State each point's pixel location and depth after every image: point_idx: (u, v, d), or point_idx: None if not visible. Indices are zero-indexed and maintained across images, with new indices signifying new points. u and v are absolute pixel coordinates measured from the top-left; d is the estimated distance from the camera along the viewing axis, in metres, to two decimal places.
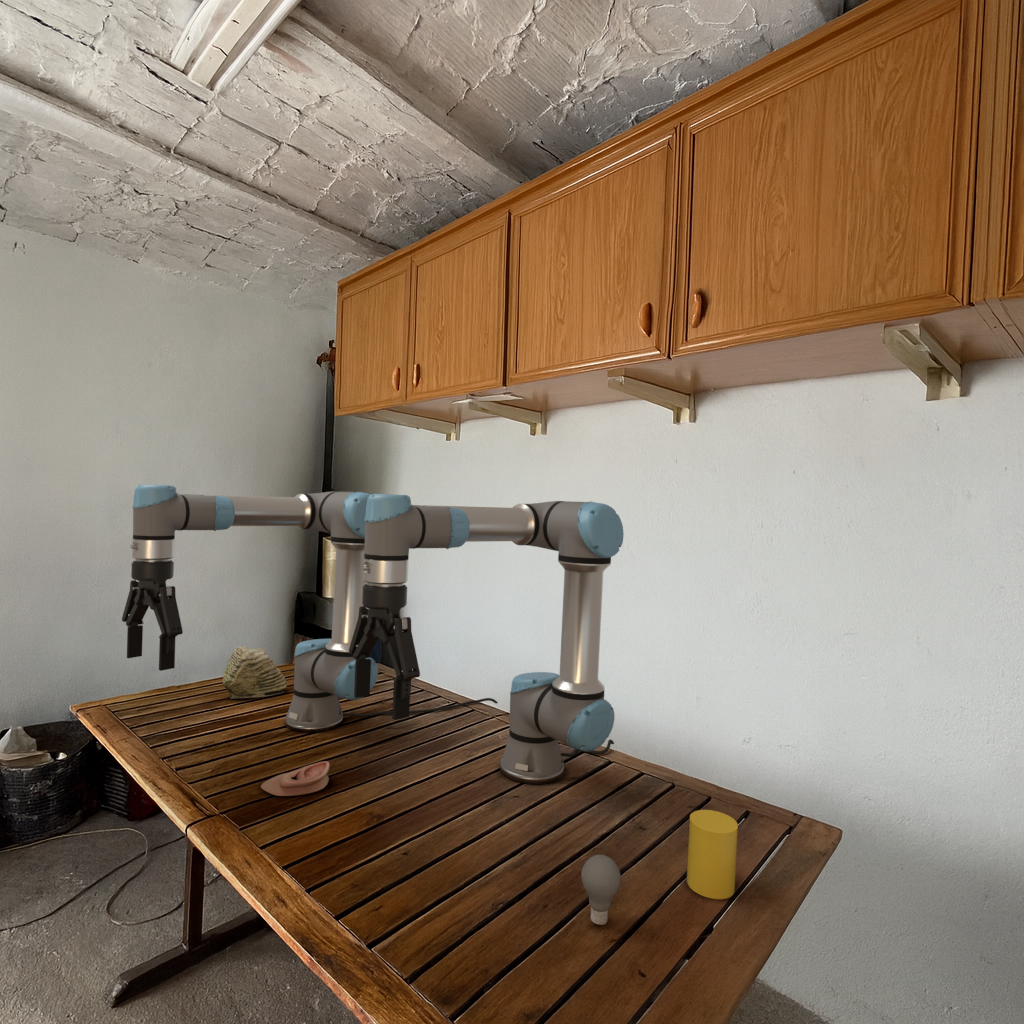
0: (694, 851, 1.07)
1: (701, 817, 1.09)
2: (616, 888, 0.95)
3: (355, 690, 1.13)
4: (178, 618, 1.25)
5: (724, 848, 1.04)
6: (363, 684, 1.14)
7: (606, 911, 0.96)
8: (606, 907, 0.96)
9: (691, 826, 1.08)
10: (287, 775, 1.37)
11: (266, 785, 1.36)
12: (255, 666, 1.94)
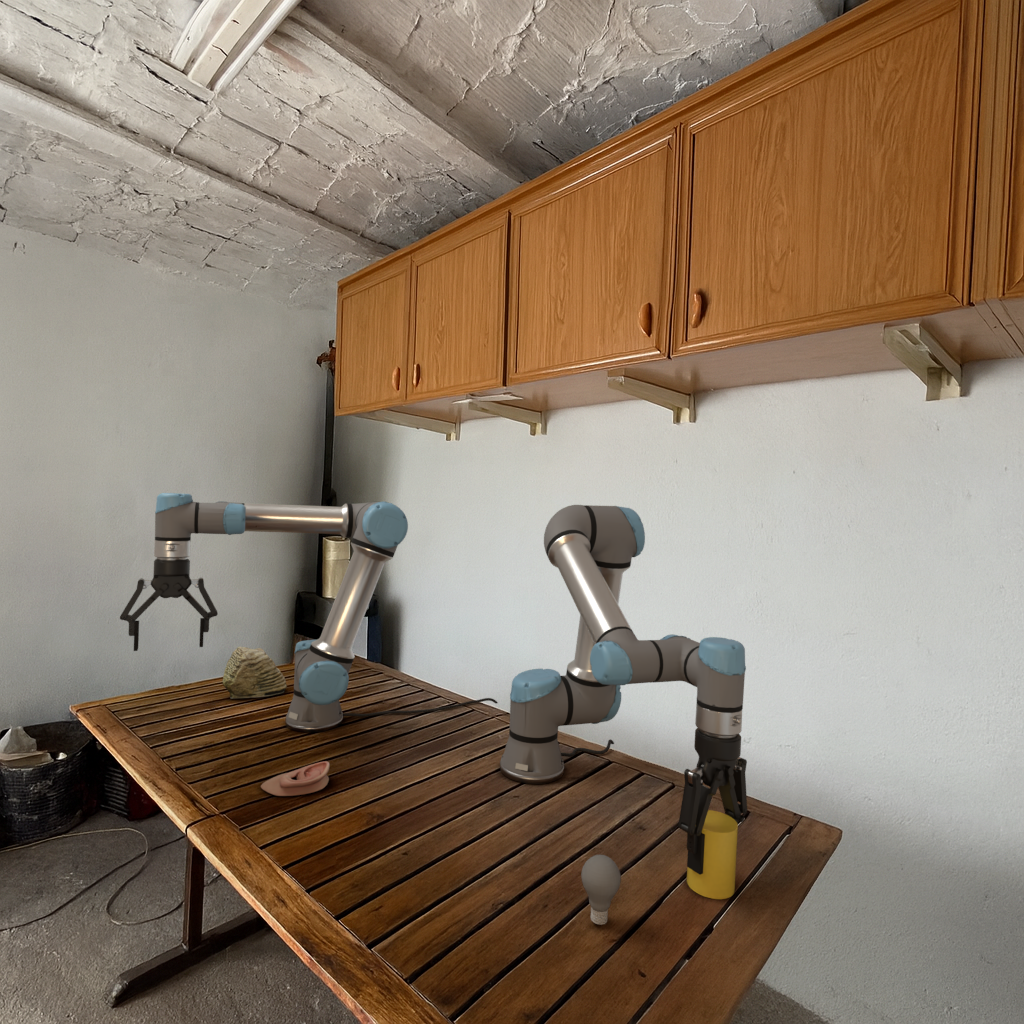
0: None
1: None
2: (616, 888, 0.95)
3: (701, 866, 1.05)
4: (212, 602, 1.55)
5: (724, 848, 1.04)
6: None
7: (606, 911, 0.96)
8: (606, 907, 0.96)
9: None
10: (287, 775, 1.37)
11: (266, 785, 1.36)
12: (255, 666, 1.94)
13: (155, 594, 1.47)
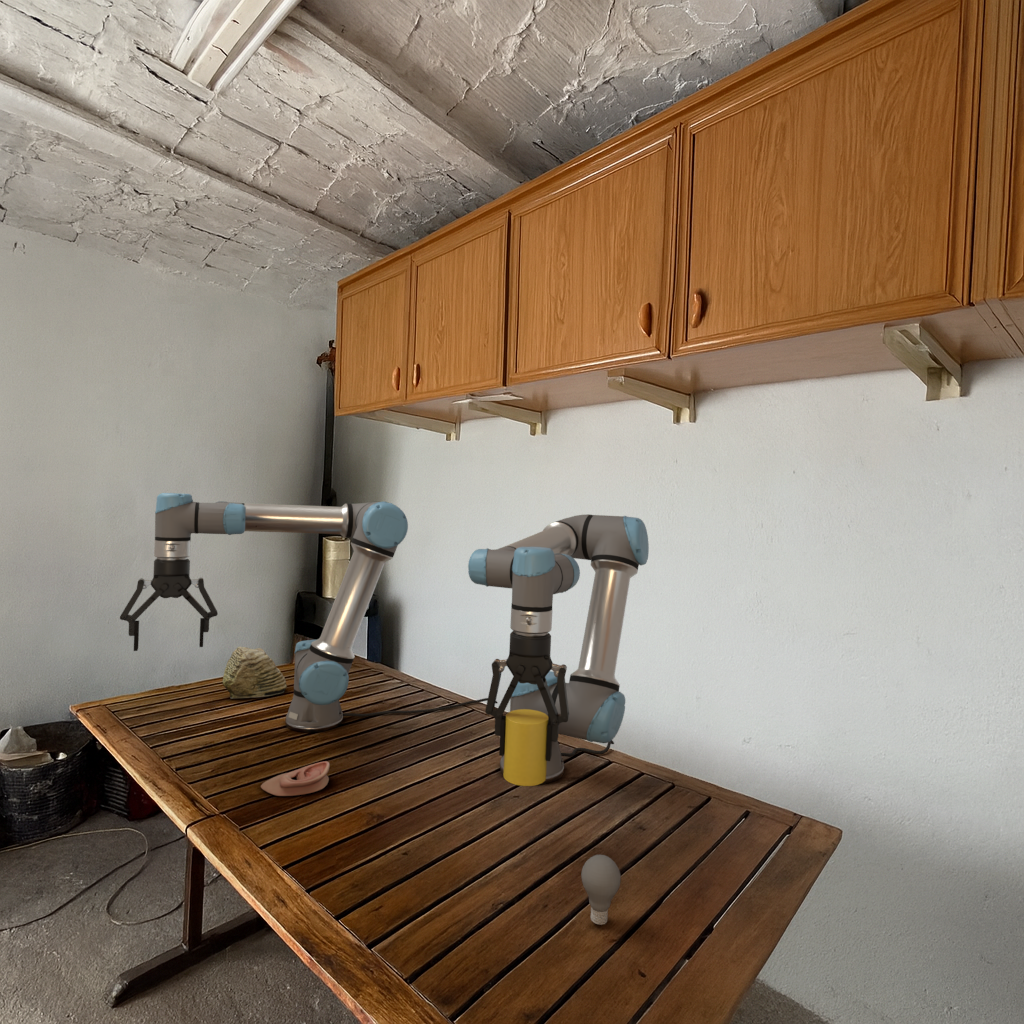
0: None
1: (524, 712, 1.18)
2: (616, 888, 0.95)
3: (501, 748, 1.15)
4: (212, 602, 1.55)
5: (514, 736, 1.13)
6: None
7: (606, 911, 0.96)
8: (606, 907, 0.96)
9: None
10: (287, 775, 1.37)
11: (266, 785, 1.36)
12: (255, 666, 1.94)
13: (155, 594, 1.47)
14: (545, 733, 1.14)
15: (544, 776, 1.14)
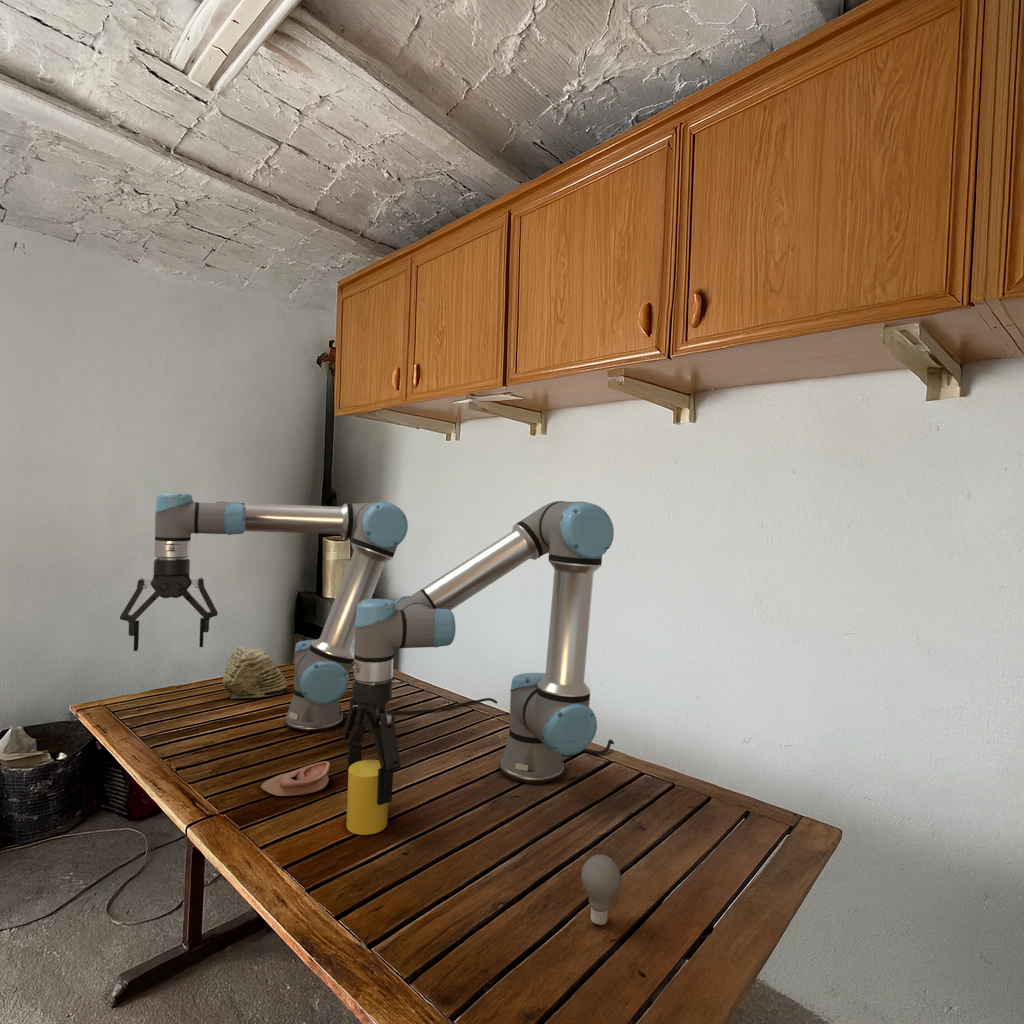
0: None
1: (376, 764, 1.25)
2: (616, 888, 0.95)
3: None
4: (212, 602, 1.55)
5: None
6: None
7: (606, 911, 0.96)
8: (606, 907, 0.96)
9: None
10: (287, 775, 1.37)
11: (266, 785, 1.36)
12: (255, 666, 1.94)
13: (155, 594, 1.47)
14: (370, 788, 1.20)
15: (371, 829, 1.20)
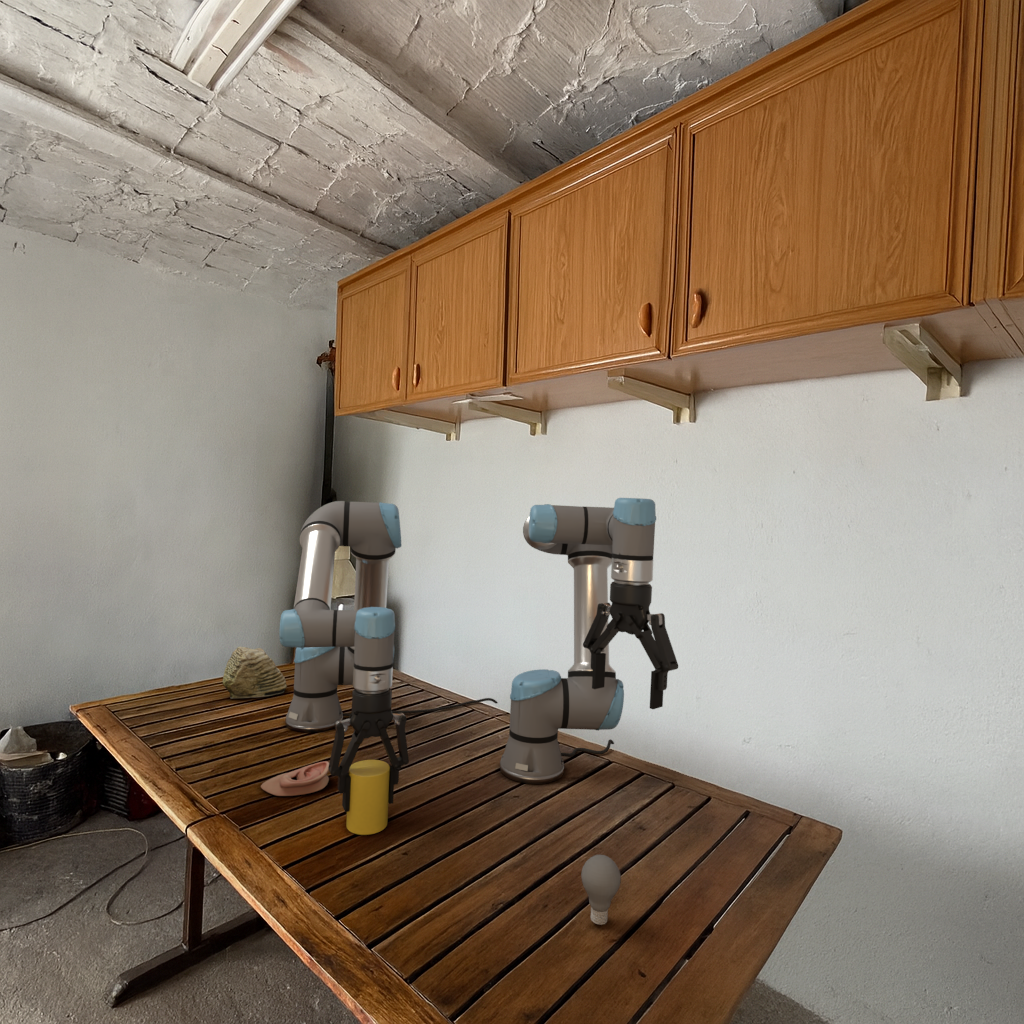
0: None
1: (376, 764, 1.25)
2: (616, 888, 0.95)
3: (593, 682, 1.21)
4: None
5: None
6: (600, 676, 1.21)
7: (606, 911, 0.96)
8: (606, 907, 0.96)
9: None
10: (287, 775, 1.37)
11: (266, 785, 1.36)
12: (255, 666, 1.94)
13: (359, 737, 1.21)
14: (370, 788, 1.20)
15: (371, 829, 1.20)
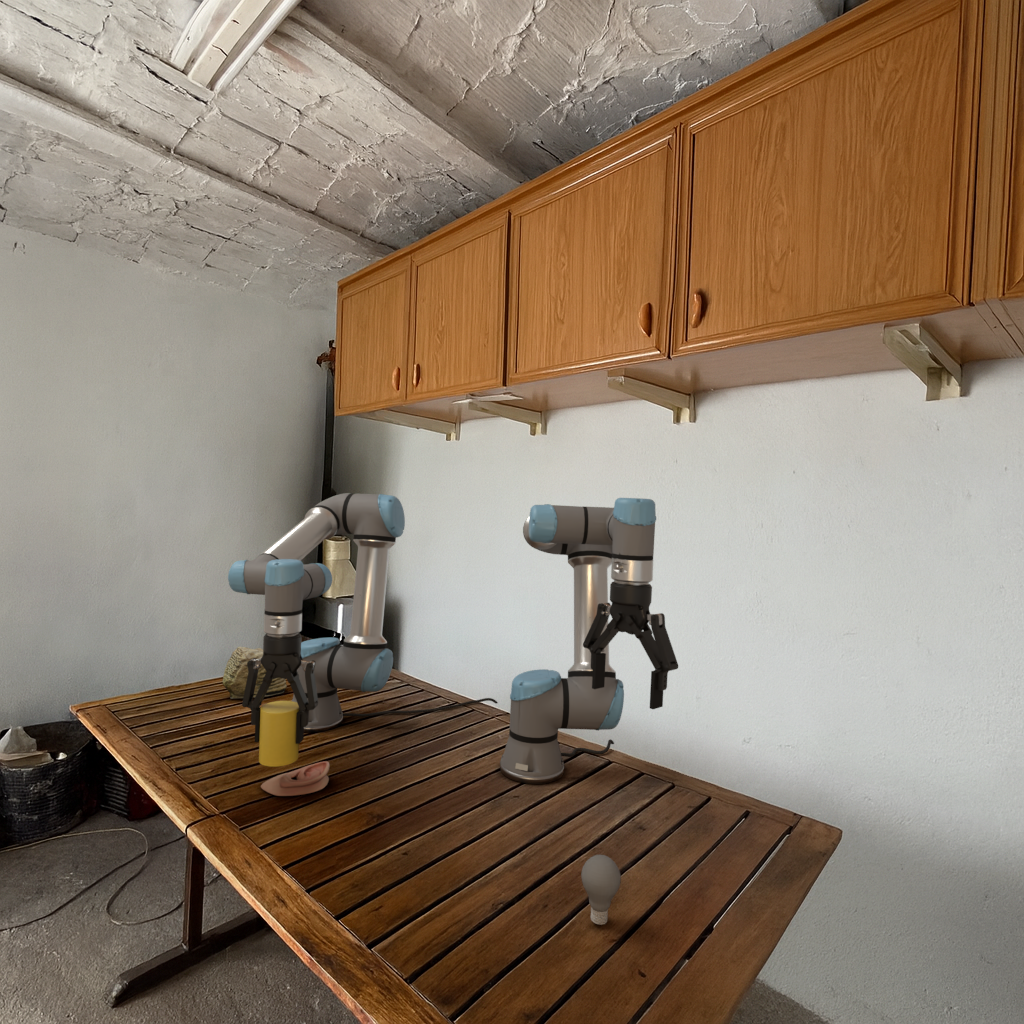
0: None
1: (290, 705, 1.35)
2: (616, 888, 0.95)
3: (593, 682, 1.21)
4: (316, 691, 1.34)
5: None
6: (600, 676, 1.21)
7: (606, 911, 0.96)
8: (606, 907, 0.96)
9: None
10: (287, 775, 1.37)
11: (266, 785, 1.36)
12: None
13: (266, 676, 1.32)
14: (270, 723, 1.30)
15: (271, 762, 1.30)
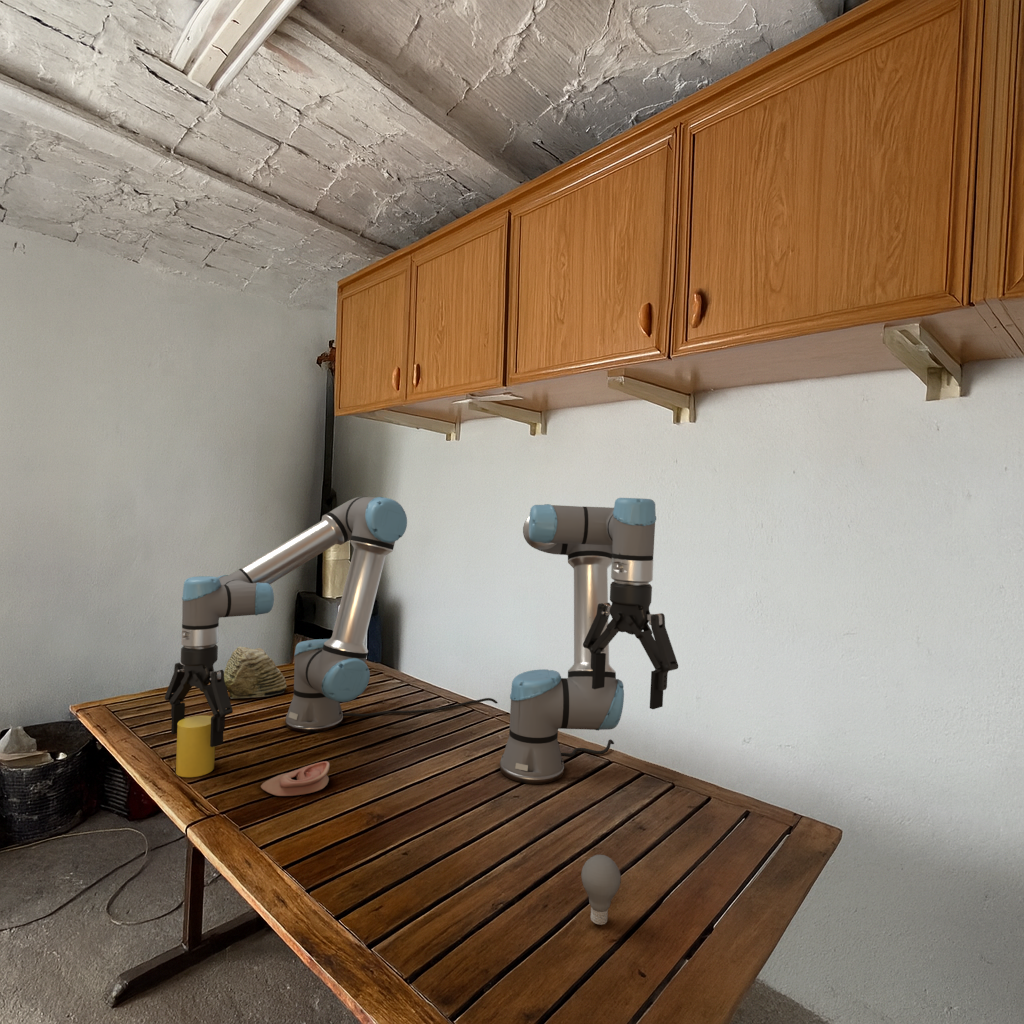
0: None
1: (206, 721, 1.44)
2: (616, 888, 0.95)
3: (593, 682, 1.21)
4: (228, 699, 1.40)
5: None
6: (600, 676, 1.21)
7: (606, 911, 0.96)
8: (606, 907, 0.96)
9: None
10: (287, 775, 1.37)
11: (266, 785, 1.36)
12: (255, 666, 1.94)
13: (182, 680, 1.44)
14: (179, 735, 1.41)
15: (179, 771, 1.41)
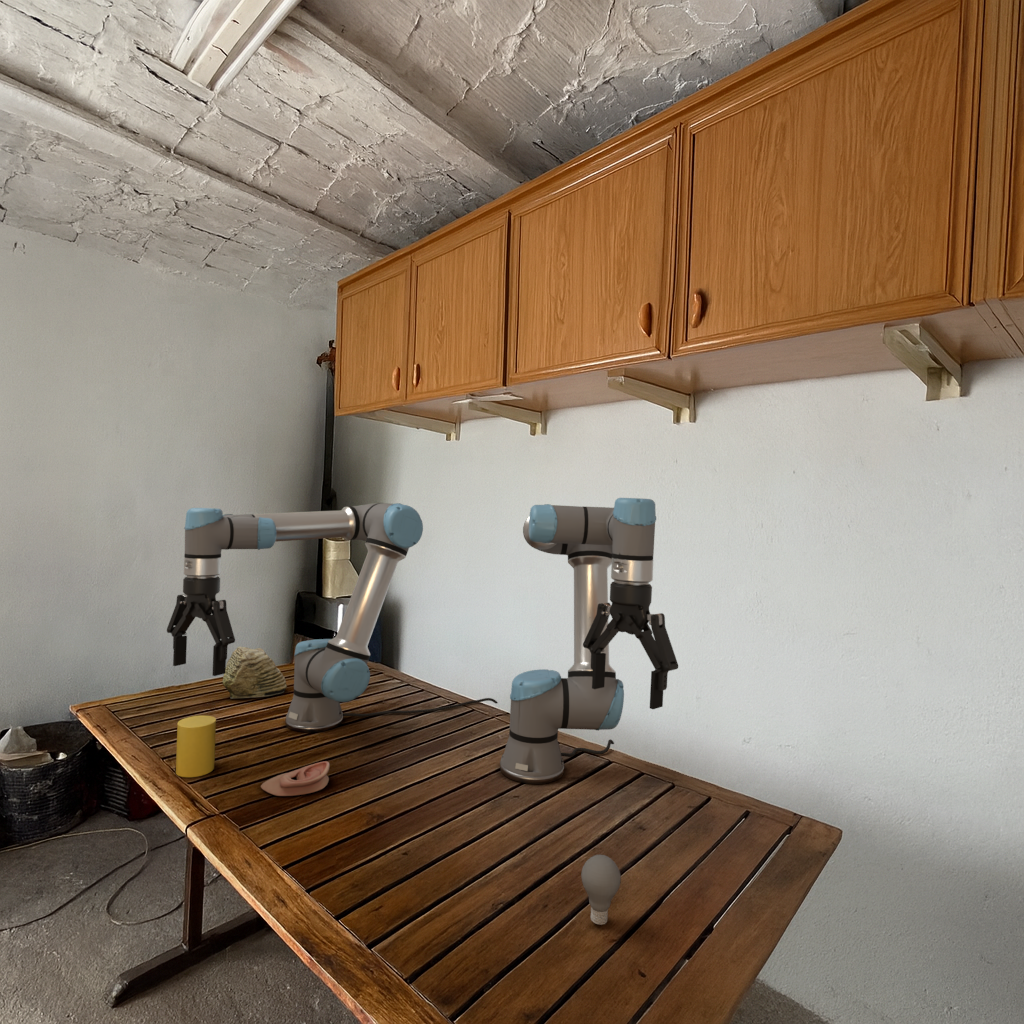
0: None
1: (206, 721, 1.44)
2: (616, 888, 0.95)
3: (593, 682, 1.21)
4: (230, 628, 1.40)
5: None
6: (600, 676, 1.21)
7: (606, 911, 0.96)
8: (606, 907, 0.96)
9: None
10: (287, 775, 1.37)
11: (266, 785, 1.36)
12: (255, 666, 1.94)
13: (184, 611, 1.43)
14: (179, 735, 1.41)
15: (179, 771, 1.41)
